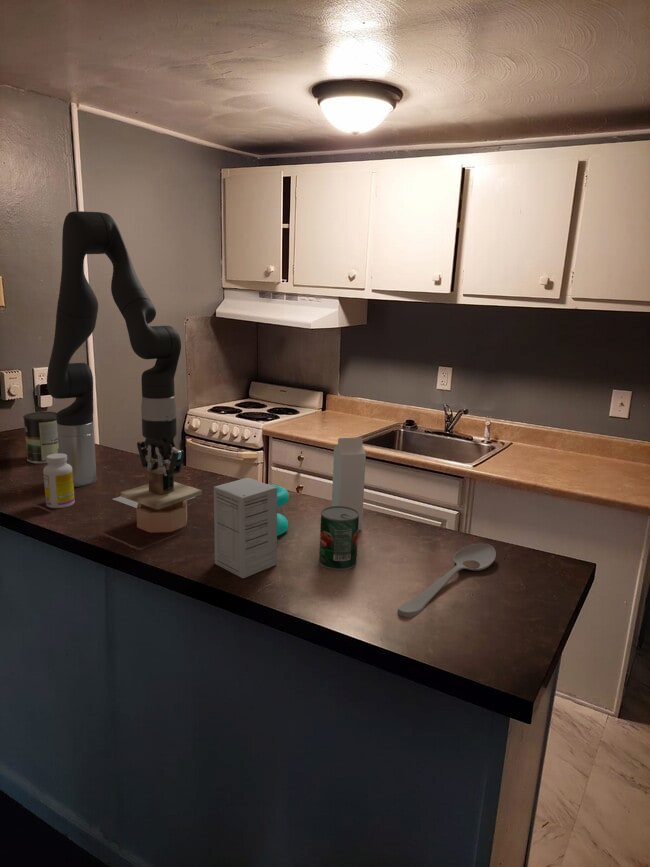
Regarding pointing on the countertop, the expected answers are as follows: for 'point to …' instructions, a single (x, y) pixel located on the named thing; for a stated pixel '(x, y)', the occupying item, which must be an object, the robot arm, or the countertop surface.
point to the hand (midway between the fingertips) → (161, 487)
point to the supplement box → (245, 526)
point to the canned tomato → (338, 537)
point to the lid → (160, 492)
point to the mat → (129, 501)
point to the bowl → (162, 517)
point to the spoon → (450, 576)
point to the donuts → (281, 500)
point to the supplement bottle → (58, 482)
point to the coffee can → (40, 436)
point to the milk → (349, 475)
